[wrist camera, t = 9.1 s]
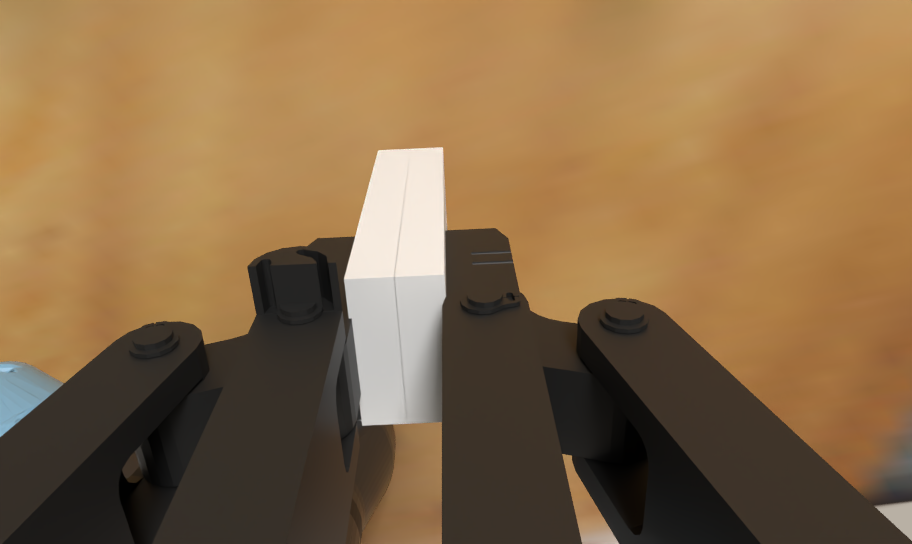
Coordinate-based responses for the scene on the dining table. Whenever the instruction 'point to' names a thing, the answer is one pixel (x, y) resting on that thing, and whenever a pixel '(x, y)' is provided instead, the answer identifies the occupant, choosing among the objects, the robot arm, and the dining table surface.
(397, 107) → the dining table surface
